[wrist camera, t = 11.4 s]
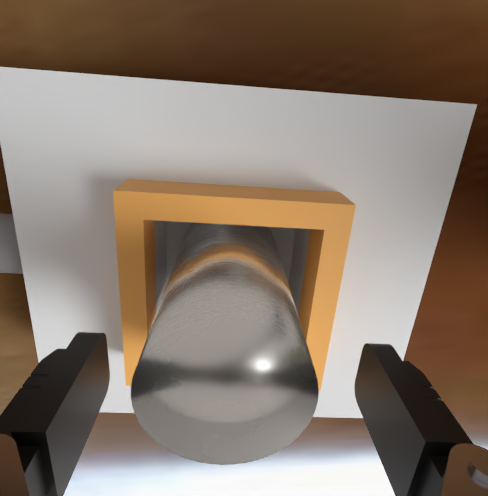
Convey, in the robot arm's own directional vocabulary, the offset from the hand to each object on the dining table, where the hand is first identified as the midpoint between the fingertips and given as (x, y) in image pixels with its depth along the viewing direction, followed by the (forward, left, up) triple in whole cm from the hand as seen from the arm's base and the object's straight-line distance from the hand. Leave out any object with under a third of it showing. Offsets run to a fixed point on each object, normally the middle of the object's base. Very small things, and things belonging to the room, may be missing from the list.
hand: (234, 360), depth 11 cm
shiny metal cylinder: (0, 0, -8) cm, 8 cm away
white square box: (0, 0, -11) cm, 11 cm away
